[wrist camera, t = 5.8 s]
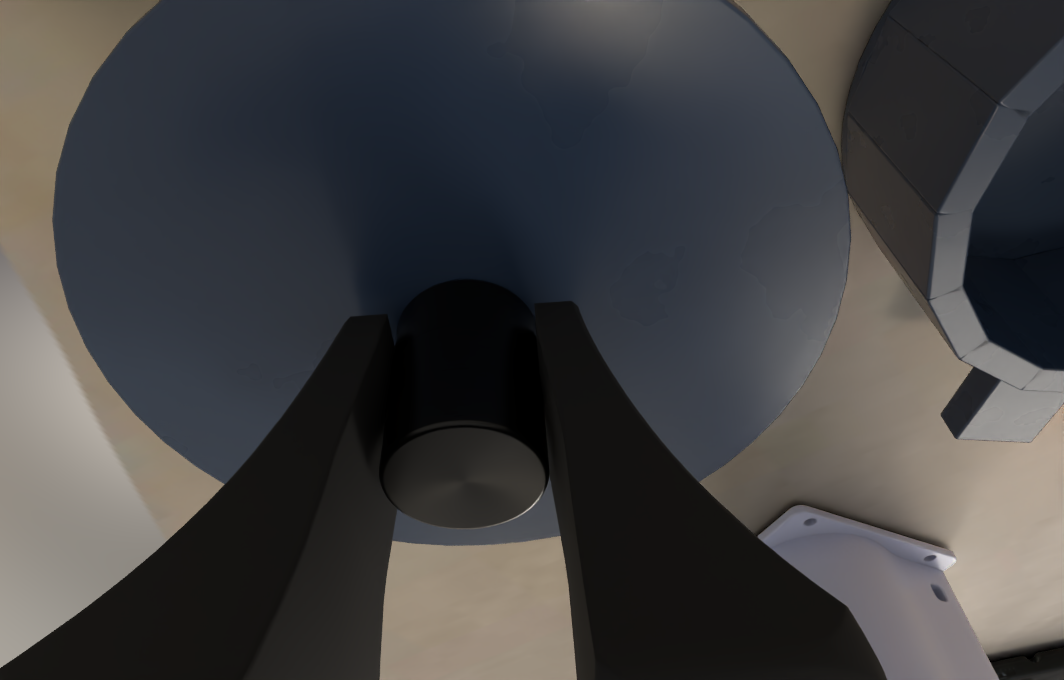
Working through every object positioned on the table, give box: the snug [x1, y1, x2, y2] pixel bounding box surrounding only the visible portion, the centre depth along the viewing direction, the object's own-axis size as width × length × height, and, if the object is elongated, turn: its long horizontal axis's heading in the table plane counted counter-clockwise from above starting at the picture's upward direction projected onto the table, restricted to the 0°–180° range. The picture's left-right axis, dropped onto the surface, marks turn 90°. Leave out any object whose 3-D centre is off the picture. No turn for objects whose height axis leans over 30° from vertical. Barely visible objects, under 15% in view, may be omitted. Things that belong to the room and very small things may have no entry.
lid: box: [52, 0, 851, 546], centre depth 12 cm, size 13×13×4 cm
